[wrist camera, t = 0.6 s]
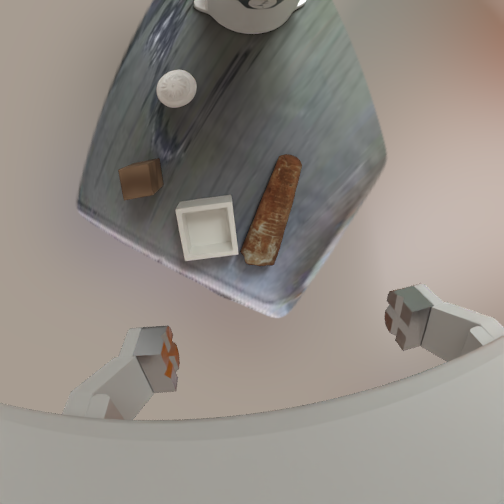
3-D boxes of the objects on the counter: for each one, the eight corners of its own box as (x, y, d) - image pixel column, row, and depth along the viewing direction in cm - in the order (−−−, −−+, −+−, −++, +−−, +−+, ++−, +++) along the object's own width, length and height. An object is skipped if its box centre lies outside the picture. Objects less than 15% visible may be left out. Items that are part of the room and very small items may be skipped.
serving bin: (179, 201, 49) (175, 209, 45) (231, 194, 50) (232, 201, 45) (188, 249, 53) (185, 261, 48) (237, 243, 53) (238, 254, 49)
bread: (237, 250, 54) (239, 263, 49) (276, 149, 48) (282, 151, 42) (270, 259, 55) (275, 273, 50) (310, 162, 49) (320, 166, 44)
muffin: (166, 71, 40) (157, 62, 34) (202, 76, 41) (199, 68, 35) (157, 106, 42) (146, 103, 36) (193, 112, 44) (188, 109, 37)
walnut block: (133, 163, 46) (118, 169, 38) (159, 158, 46) (148, 163, 39) (138, 189, 48) (124, 200, 40) (163, 184, 48) (153, 195, 41)
